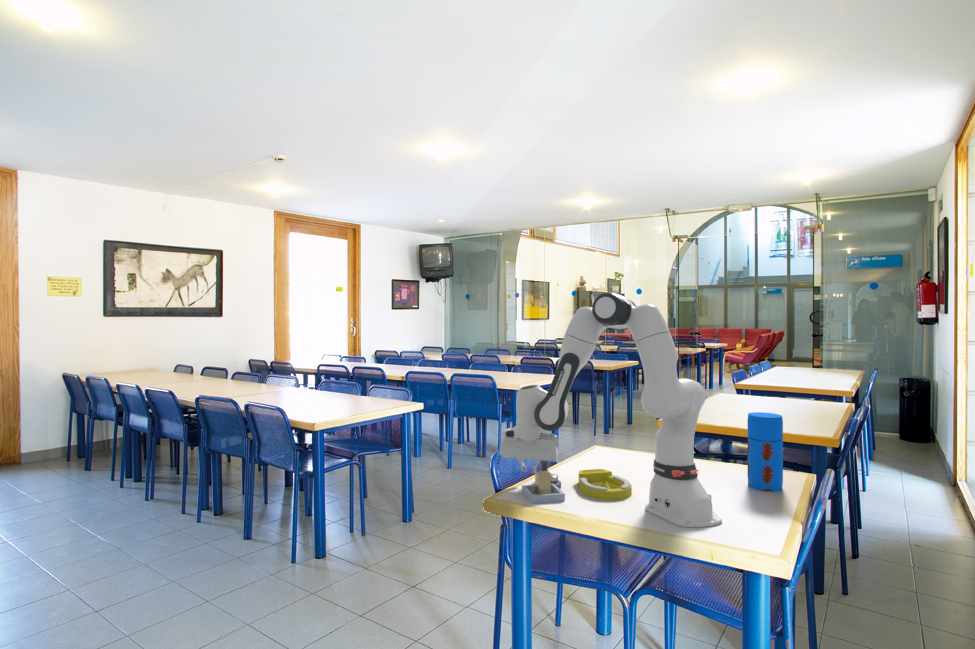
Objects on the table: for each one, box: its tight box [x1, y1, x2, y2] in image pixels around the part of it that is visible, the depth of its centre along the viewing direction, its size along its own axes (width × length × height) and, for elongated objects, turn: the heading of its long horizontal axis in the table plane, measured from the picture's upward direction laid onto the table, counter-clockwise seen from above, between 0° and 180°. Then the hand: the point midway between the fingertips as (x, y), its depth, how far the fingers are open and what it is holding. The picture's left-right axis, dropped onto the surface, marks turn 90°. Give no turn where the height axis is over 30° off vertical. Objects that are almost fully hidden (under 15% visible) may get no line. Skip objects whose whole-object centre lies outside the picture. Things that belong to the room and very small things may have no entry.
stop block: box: [534, 470, 552, 495], centre depth 172 cm, size 4×4×8 cm
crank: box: [539, 460, 559, 483], centre depth 186 cm, size 11×4×6 cm, turn 12°
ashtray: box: [578, 468, 633, 501], centre depth 180 cm, size 16×21×5 cm
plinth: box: [551, 479, 562, 490], centre depth 182 cm, size 6×16×2 cm, turn 102°
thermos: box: [747, 411, 784, 493], centre depth 183 cm, size 11×11×25 cm
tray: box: [521, 484, 566, 504], centre depth 173 cm, size 11×11×3 cm
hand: (528, 471), depth 185 cm, fingers closed
